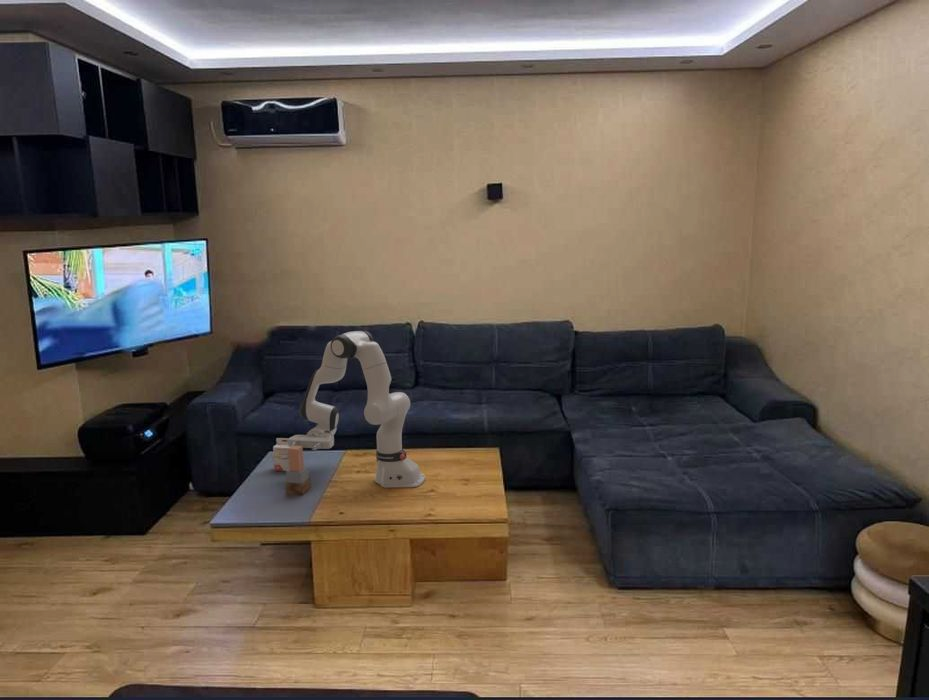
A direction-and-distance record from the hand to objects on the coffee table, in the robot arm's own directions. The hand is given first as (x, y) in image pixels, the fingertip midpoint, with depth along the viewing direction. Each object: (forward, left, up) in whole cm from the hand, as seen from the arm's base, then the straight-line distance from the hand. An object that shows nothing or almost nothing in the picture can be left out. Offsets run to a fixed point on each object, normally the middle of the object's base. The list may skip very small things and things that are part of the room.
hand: (303, 447), depth 294 cm
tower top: (0, +7, -12) cm, 14 cm away
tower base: (0, +7, -17) cm, 19 cm away
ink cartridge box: (+18, -15, -17) cm, 29 cm away
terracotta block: (0, +7, -7) cm, 10 cm away
